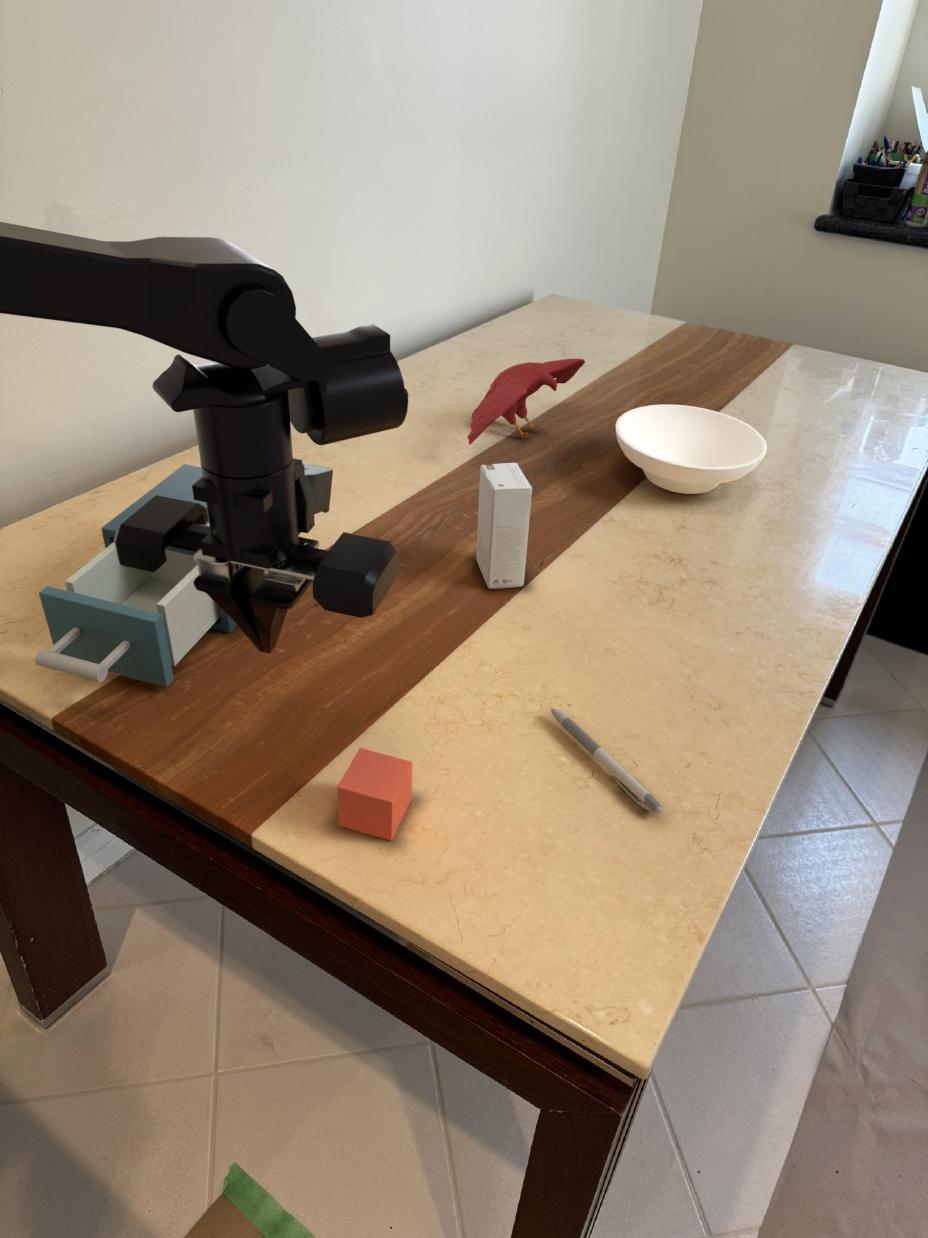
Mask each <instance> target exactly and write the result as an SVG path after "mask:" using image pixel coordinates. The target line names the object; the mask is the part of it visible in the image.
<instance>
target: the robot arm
mask: <svg viewBox="0 0 928 1238" xmlns="http://www.w3.org/2000/svg"><path fill="white" fill-rule="evenodd" d="M0 314H2V315H11V316H19V317H26V318H35V319H43V320H50V321H58V322H65V323H66V322H67V323H73V324H81V325H89V326H97V327H104V328H105V327H106V328H113V329H119V330H123V331H126V332H129V333H133V334H137V335H139V336H142V337H145V338H148V339H150V340H152V341H155V342H158V343H159V344H162V345H164V346H167V347H169V348H172V349H174V350H177V351H179V352H182V353H184V354H187V355H189V356H194V357H197V358H200V359H204V360H206V361H210V363H204V364H194V363H192V362H191V361H190V360H189V359H188V358H186V357H185V356H184V355H183V354H180V353H179V354H175V356H174V357H173V361H172V362H171V364H170V365H169V367H167V369H165V370H164V371H163V372H161V374H159V376H158V377H157V378H156V379H155V380H154V381H153V382H152V389H153V391H154V392H155V393H156V395H158V397H160V399H161V400H162V401H163V402H164V403H165V404H166V405H167V406H168V407H169V408H170V409H171V410H172V411H173V412H175V413H183V412H188V411H192V412H193V418H194V426H195V432H196V440H197V446H198V452H199V460H200V467H201V469H202V476H203V477H201V478H200V479H199V480H198V481H197V482H196V483H194V484H193V485H192V490H193V497H194V500H197V501H202V502H206V503H207V508H205V507H204V506H202V505H201V504H199V503H195V502H190V501H185V500H180V499H175V498H170V497H165V496H160V495H155V496H154V497H153V498H152V499H151V500H149V501H148V502H147V503H146V504H145V505H143V506H142V507H141V508H140V509H139V510H137V511H136V512H135V513H134V514H133V515H131V516H130V517H129V518H128V519H127V520H125V521H124V522H123V523H122V524H121V525H120V526H119V527H118V528H117V530H116V534H115V537H114V544H115V548H116V552H117V557H118V561H119V563H120V565H121V566H126V567H131V568H135V569H140V570H144V571H149V572H153V573H154V572H155V571H156V570H157V569H159V568H160V567H161V566H162V565H163V564H164V563H165V562H166V561H167V558H166V553H165V549H166V548H167V547H168V546H170V547H174V548H179V549H184V550H189V551H193V552H196V553H195V554H194V555H193V560H194V561H195V562H197V564H198V570H199V576H198V577H197V578H196V579H195V580H194V586H195V588H196V590H198V591H202V592H205V593H206V594H207V595H208V596H209V597H210V598H211V599H212V600H213V601H214V602H215V603H216V604H217V605H218V606H219V607H221V608H222V609H223V610H224V611H225V612H226V613H227V614H228V615H229V616H230V618H231V619H232V620H233V621H234V622H235V623H236V624H237V627H238V628H239V629H240V630H241V632H242V633H243V634H244V635H245V636H246V637H247V639H248V640H249V641H250V642H251V643H252V645H253V646H254V647H255V648H256V649H257V650H258V651H259V652H260V653H265V654H268V655H270V654H271V653H272V652H273V651H274V649H275V648H276V646H277V644H278V640H279V638H280V634H281V632H282V629H283V625H284V622H285V620H286V617H287V613H288V610H290V609H292V608H294V607H295V606H296V604H297V603H298V602H299V600H300V599H301V598H302V597H303V595H304V594H305V593H306V591H307V590H308V588H309V587H310V586H311V585H312V598H313V600H315V602H316V603H318V605H319V606H320V607H321V608H322V609H323V610H324V611H328V612H332V613H336V614H341V615H345V616H350V617H354V618H359V619H364V618H368V617H371V616H374V615H375V613H376V611H377V610H378V608H379V606H380V605H381V604H382V601H383V600H384V598H385V597H386V596H387V594H388V592H389V590H390V589H391V588H392V586H393V585H394V583H395V581H396V579H397V577H398V576H399V575H400V553H399V551H398V550H397V549H396V546H395V545H394V544H393V543H392V542H391V541H390V540H385V539H381V538H375V537H370V536H365V535H361V534H355V533H350V532H345V531H343V532H342V533H341V534H340V536H339V537H338V538H337V540H336V541H335V542H334V544H333V545H332V546H331V547H330V549H328V550H327V549H323V548H319V547H320V541H319V540H316V539H312V538H307V537H304V536H303V537H302V536H300V535H301V534H302V533H303V534H309V533H310V532H311V531H312V529H313V528H314V527H315V526H316V521H315V515H317V514H320V513H325V514H326V513H327V514H328V513H329V512H330V507H331V506H330V505H331V495H332V485H333V474H334V469H333V468H332V467H328V466H323V465H317V464H312V463H307V462H303V459H300V458H295V457H294V454H293V441H292V429H291V428H292V427H293V429H295V431H296V432H298V433H299V434H306V435H307V437H309V439H310V440H311V441H312V442H313V443H314V444H316V445H318V446H326V445H330V444H334V443H338V442H339V443H340V442H344V441H347V440H351V439H356V438H360V437H364V436H368V435H372V434H376V433H382V432H385V431H390V430H394V429H398V428H400V427H401V426H402V425H403V424H404V422H405V420H406V418H407V414H408V409H409V391H408V390H407V388H405V383H404V379H403V374H402V371H401V368H400V366H399V363H398V361H397V359H396V357H395V356H394V354H393V352H392V351H391V334H390V333H388V332H387V331H386V330H384V329H382V328H381V327H379V326H377V325H376V324H374V323H372V324H366V325H361V326H357V327H355V328H352V329H349V330H348V331H343V332H338V333H331V334H327V335H326V334H325V335H319V336H314V337H313V336H312V335H310V334H309V333H308V331H307V330H306V329H305V327H303V325H302V324H301V323H300V322H299V320H298V319H297V318H296V316H297V305H296V302H295V298H294V294H293V291H292V289H291V288H290V286H289V284H288V283H287V281H286V279H285V278H284V276H283V275H282V274H281V273H279V272H278V271H276V270H275V269H274V268H272V267H271V266H269V265H268V264H266V263H264V262H263V261H261V260H260V259H258V258H256V257H254V256H253V255H252V254H250V253H248V252H247V251H245V250H243V249H241V248H240V247H239V246H237V245H235V244H234V243H232V242H230V241H227V240H225V239H223V238H219V237H210V236H207V237H205V236H157V237H150V238H143V239H137V240H130V241H125V240H124V241H120V240H119V241H117V240H111V241H109V240H101V239H94V238H89V237H85V236H80V235H73V234H68V233H63V232H57V231H53V230H45V229H43V228H42V229H41V228H36V227H31V226H25V225H20V224H15V223H9V222H8V223H7V222H4V221H0ZM291 425H292V427H291ZM207 510H208V513H207ZM208 517H209V520H208ZM208 521H209V524H206V523H207V522H208ZM265 574H266V575H265ZM264 576H265V577H264ZM264 578H265V579H264Z"/></svg>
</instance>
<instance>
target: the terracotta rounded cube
mask: <svg viewBox="0 0 928 1238" xmlns="http://www.w3.org/2000/svg"><path fill="white" fill-rule="evenodd" d="M354 755H355V756H354V757H353V759H352V760H351V762H350V764H349V766H348V768H347V770H346V771H345V773H344V774H343V776H342V778H341V779H340V781H339V783H338V785H337V791H336V792H337V814H338V816H337V817H338V826H339V827H341V828H346V829H349V830H352V831H356V832H359V833H362V834H365V835H368V836H373V837H377V838H379V839H383V840H386V841H390V842H391V841H393V840H394V837H395V835H396V833H397V831H398V829H399V827H400V825H401V822H402V820H403V818H404V816H405V814H406V812H407V810H408V808H409V805H410V803H411V801H412V789H413V788H412V785H413V761H411V760H407V759H403V758H399V757H396V756H392V755H388V754H384V753H381V752H377V751H374V750H370V749H366V748H362V747H359V748H358V750H357V752H356V753H355V754H354Z"/></svg>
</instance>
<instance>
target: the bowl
mask: <svg viewBox="0 0 928 1238" xmlns="http://www.w3.org/2000/svg"><path fill="white" fill-rule="evenodd" d="M615 436H616V441H617V443H618V445H619V447H620V449H621V451H622V452H623V454H624V456H625V458H627V459H628V460H629V461H630V462H631V463H633V464H634V465H635V466H637V467H638V468H640V469H641V470H642V472H643V473H644V475H645V477H646V478H647V480H648V481H649V482H651V483H652V484H654V485H655V486H656V487H659V488H661V489H664V490H667V491H670V492H674V493H679V494H686V495H695V494H696V495H698V494H705V493H708V492H710V491H712V490H714V489H715V488H717V486H719V485H720V484H727V483H730V482H734V481H738V480H740V479H742V478H743V477H745V476H746V475H748V474H749V473H750V472H752V471H754V470H755V469H756V468H757V467H758V466H759V464H760V463H761V462H762V460H763V459H764V457H765V455H766V454H767V451H768V445H767V442H766V440H765V438H764V437H763V436H762V434H761V433H760V432H759V431H757V430H756V429H755V428H754V427H753V426H751V425H749V424H748V423H746V422H744V421H742V420H741V419H739V418H736V417H734V416H732V415H728V414H725V413H723V412H721V411H716V410H712V409H708V408H704V407H700V406H699V407H698V406H692V405H685V404H684V405H683V404H665V403H664V404H650V405H644V406H638V407H636V408H632V409H629V410H627V411H625V412H624V413H622V414H621V415H620V416H619V417H618V418H617V420H616V422H615Z"/></svg>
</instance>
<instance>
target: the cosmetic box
mask: <svg viewBox="0 0 928 1238" xmlns="http://www.w3.org/2000/svg"><path fill="white" fill-rule="evenodd" d="M532 494H533V487H532V485H531V484H530V482H529V480H528V479H527V478H526V476H525V474H524V472H523V471H522V469H521V467H520V465H519V464H518V462H501V463H490V464H481V465H480V469H479V487H478V513H477V514H478V515H477V537H476V563H477V565H478V567H479V570H480V572H481V574H482V577H483V579H484V582H485V585H486V586H487V588H488V589H494V590H495V589H497V590H498V589H512V588H520V587H521V588H522V587H523V586H524V584H525V575H526V565H527V564H526V562H527V551H528V541H529V529H530V520H531V519H530V517H531V506H532V496H533V495H532Z"/></svg>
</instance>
